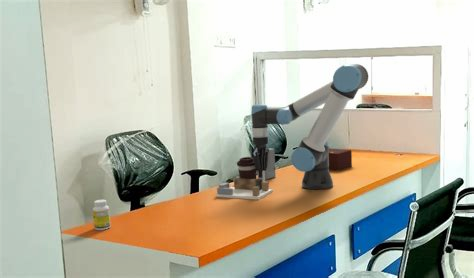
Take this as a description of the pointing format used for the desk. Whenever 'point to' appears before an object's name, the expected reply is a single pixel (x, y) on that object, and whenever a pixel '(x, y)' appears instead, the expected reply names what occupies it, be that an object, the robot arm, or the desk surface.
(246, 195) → the board
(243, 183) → the leg
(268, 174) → the skincare box
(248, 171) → the coffee cup
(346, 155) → the box
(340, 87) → the robot arm
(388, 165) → the desk surface
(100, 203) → the pill bottle
